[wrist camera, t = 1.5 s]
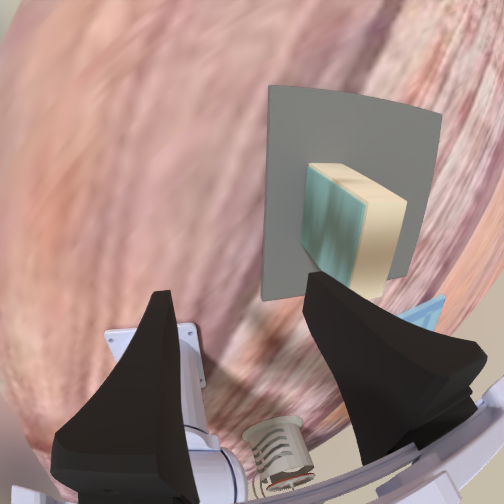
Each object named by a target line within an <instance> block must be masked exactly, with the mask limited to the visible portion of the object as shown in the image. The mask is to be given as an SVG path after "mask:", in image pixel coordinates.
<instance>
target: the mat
mask: <svg viewBox="0 0 504 504" xmlns="http://www.w3.org/2000/svg"><path fill="white" fill-rule="evenodd" d="M441 122H442V114H439V113H436V112H433V111H429V110H425V109H422V108H418V107H414V106H410V105H406V104H402V103H398V102H394V101H389V100H384V99H379V98H374V97H369V96H364V95H358V94H352V93H346V92H339V91H331V90H324V89H315V88H305V87H294V86H279V85H269V86H268V122H267V154H266V184H265V211H264V236H263V260H262V283H261V299H262V301H268V300H275V299H281V298H288V297H294V296H300V295H305V293H306V286H307V280H308V273H311V272H318V271H321V269H320V268H319V267H318V265H317V264H316V263H315V261H314V260H313V259H312V257H311V256H310V255H309V253H308V252H307V251H306V249H305V248H304V247H303V245H302V244H301V243H300V241H301V232H302V222H303V212H304V201H305V190H306V179H307V167H309V163H340V164H344V165H345V166H347V167H349V168H351V169H353V170H355V171H356V172H358V173H360V174H362V175H364V176H365V177H367V178H369V179H371V180H372V181H374V182H376V183H378V184H379V185H381V186H383V187H384V188H386V189H388V190H390V191H391V192H393V193H394V194H396V195H398V196H399V197H401V198H403V199H404V200H406V201H407V205H406V210H405V214H404V218H403V223H402V227H401V231H400V235H399V238H398V242H397V246H396V250H395V253H394V257H393V260H392V264H391V267H390V270H389V273H388V277H387V280H388V279H393V278H398V277H403V276H406V275H407V272H408V269H409V266H410V263H411V259H412V256H413V253H414V250H415V246H416V243H417V240H418V236H419V233H420V229H421V225H422V222H423V218H424V214H425V210H426V206H427V201H428V197H429V193H430V188H431V183H432V178H433V173H434V168H435V163H436V157H437V151H438V144H439V138H440V130H441Z"/></svg>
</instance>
